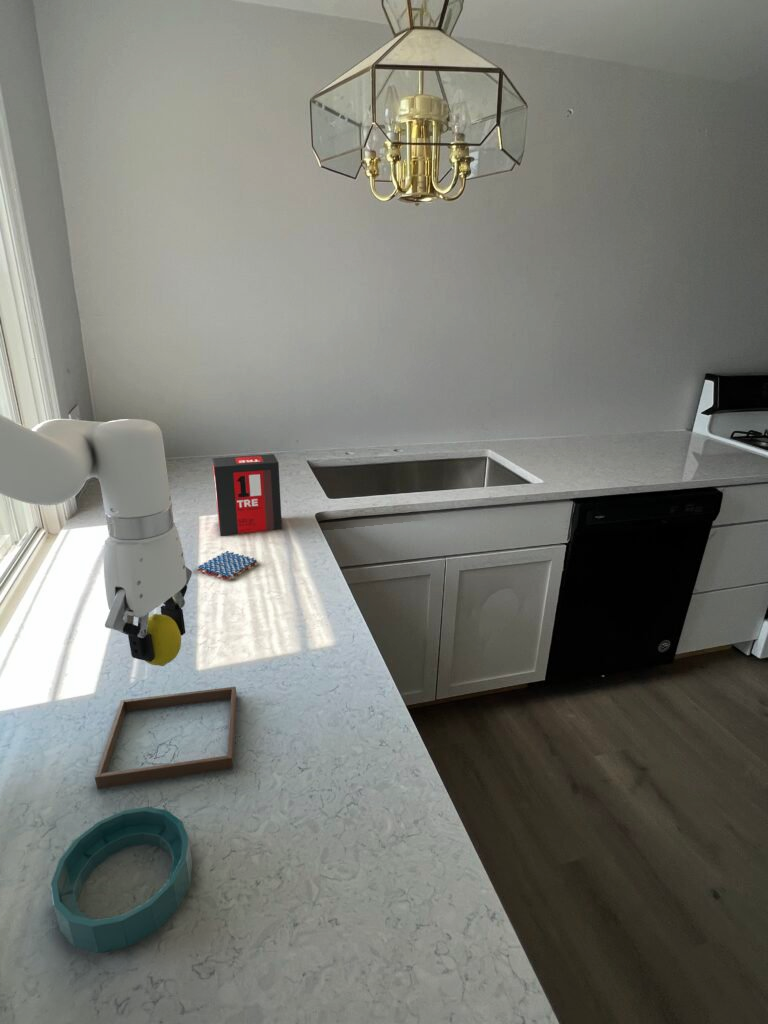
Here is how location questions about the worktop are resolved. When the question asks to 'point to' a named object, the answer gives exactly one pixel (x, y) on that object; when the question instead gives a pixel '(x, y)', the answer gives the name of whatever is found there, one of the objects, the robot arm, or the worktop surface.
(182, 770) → the brown wooden frame
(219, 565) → the woven mat
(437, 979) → the worktop surface
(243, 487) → the cleaning product box
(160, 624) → the lemon
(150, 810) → the teal ring
